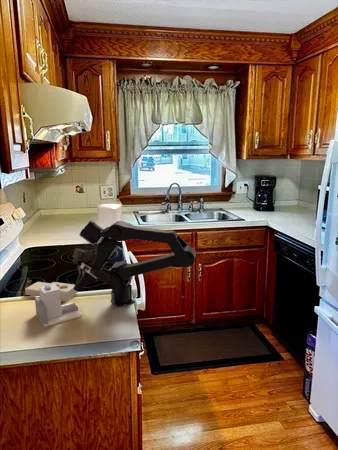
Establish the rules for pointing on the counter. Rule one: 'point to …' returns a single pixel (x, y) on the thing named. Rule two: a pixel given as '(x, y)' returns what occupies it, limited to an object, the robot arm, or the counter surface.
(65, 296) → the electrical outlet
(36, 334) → the counter surface
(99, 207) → the pale rounded upright block
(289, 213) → the counter surface
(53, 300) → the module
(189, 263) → the robot arm
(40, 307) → the board
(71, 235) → the counter surface
